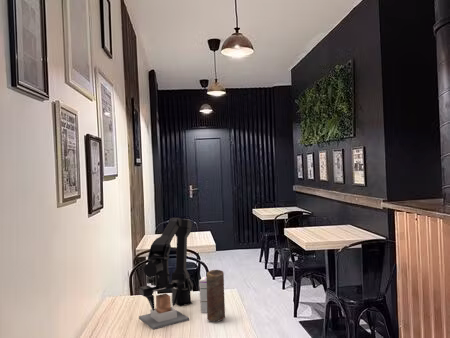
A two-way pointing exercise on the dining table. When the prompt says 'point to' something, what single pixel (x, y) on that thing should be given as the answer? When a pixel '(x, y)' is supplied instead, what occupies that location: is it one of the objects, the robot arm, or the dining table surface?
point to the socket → (163, 318)
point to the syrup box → (203, 294)
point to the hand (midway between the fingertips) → (163, 308)
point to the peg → (163, 303)
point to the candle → (215, 295)
